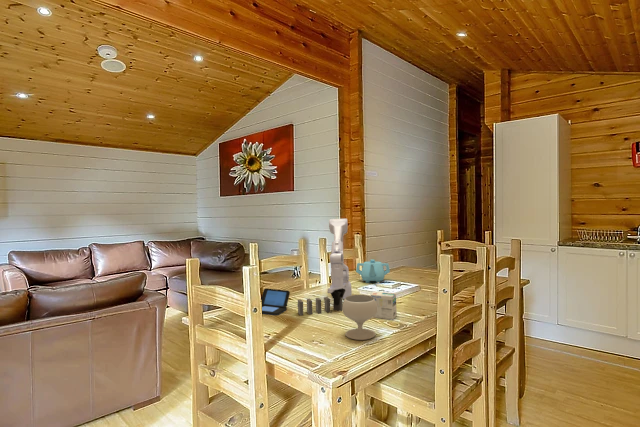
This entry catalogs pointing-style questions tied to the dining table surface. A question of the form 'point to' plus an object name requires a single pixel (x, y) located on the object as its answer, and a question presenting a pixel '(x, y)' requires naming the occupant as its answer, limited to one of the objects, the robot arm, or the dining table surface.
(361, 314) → the chalice
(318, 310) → the domino
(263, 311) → the handheld game console
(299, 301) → the domino
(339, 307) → the domino
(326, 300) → the domino
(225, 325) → the dining table surface
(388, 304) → the light bulb box
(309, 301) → the domino
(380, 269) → the teapot
